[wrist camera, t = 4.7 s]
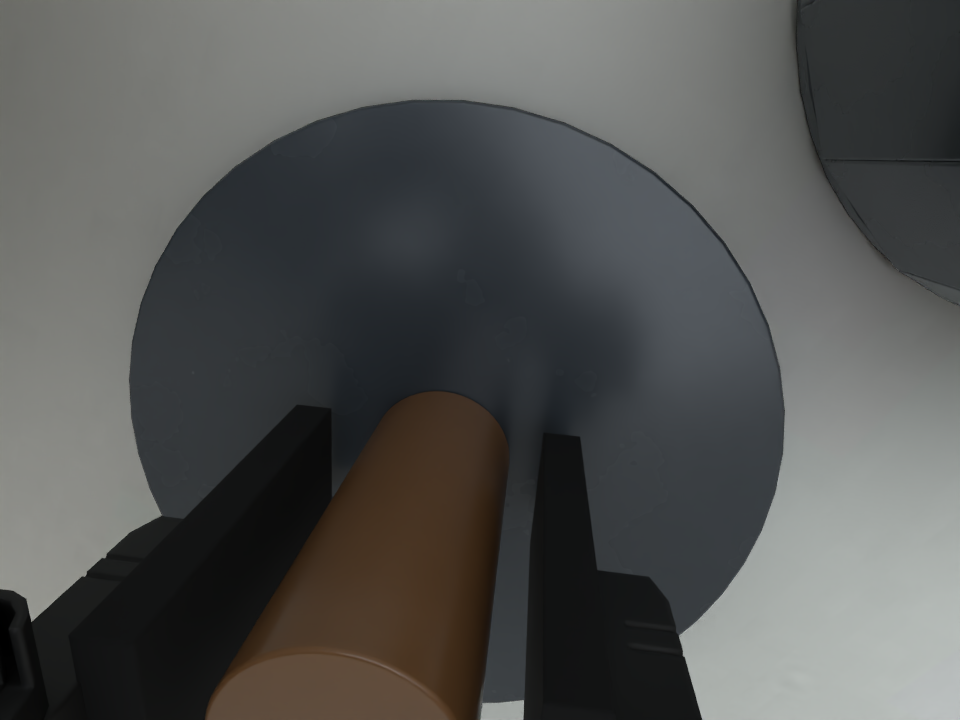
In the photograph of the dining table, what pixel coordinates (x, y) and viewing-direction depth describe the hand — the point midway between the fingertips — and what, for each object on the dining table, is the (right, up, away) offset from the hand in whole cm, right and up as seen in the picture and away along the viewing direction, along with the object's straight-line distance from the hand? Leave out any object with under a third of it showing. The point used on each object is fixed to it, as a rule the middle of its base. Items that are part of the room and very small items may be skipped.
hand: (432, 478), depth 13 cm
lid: (0, +1, +2) cm, 2 cm away
